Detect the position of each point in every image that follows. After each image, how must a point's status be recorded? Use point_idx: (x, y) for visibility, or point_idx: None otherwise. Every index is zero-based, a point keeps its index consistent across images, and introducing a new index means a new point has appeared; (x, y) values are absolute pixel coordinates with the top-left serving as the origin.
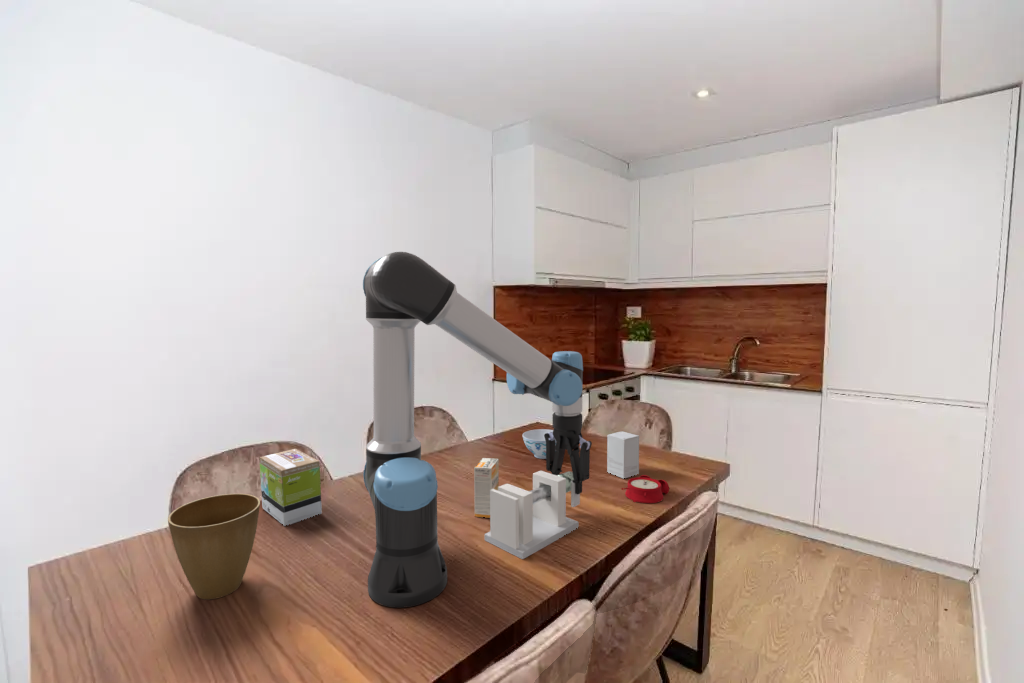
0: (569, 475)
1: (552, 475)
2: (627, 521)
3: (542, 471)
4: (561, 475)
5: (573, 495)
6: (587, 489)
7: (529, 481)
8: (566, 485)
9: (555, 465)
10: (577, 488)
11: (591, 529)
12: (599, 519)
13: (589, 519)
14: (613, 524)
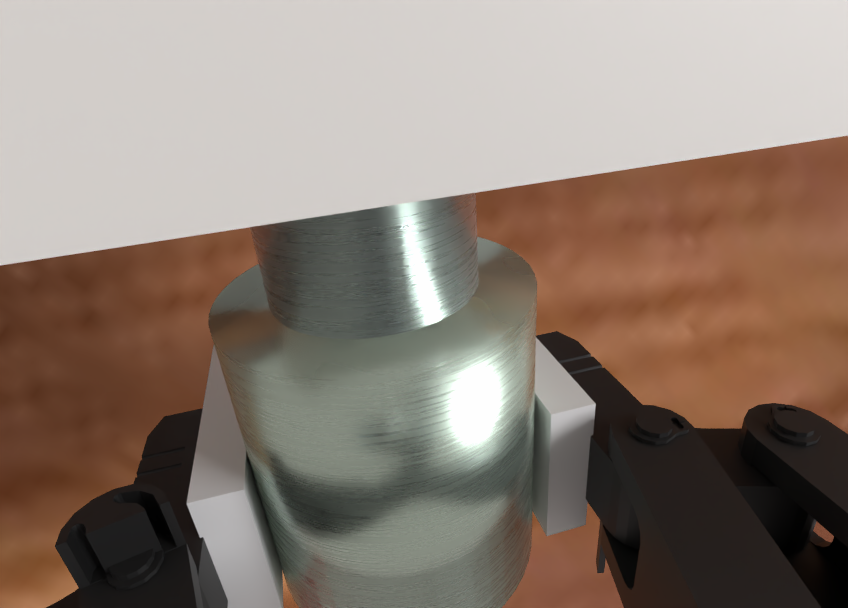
0: (354, 567)
1: (349, 99)
2: (4, 548)
3: (812, 105)
4: (420, 452)
5: (211, 367)
6: (523, 580)
7: (834, 393)
8: (217, 355)
9: (713, 565)
10: (164, 468)
11: (13, 269)
12: (143, 422)
13: (187, 366)
14: (9, 453)
